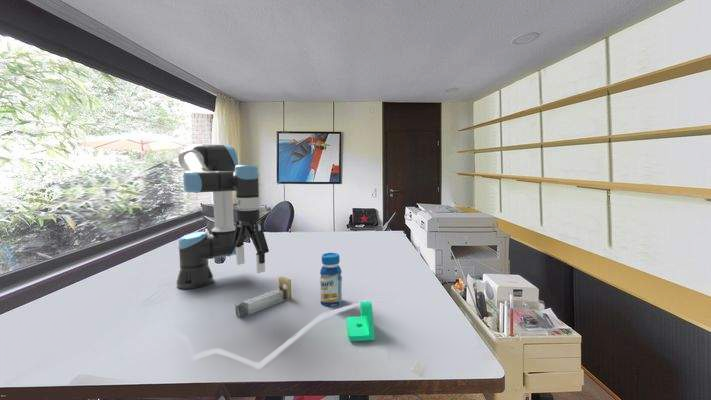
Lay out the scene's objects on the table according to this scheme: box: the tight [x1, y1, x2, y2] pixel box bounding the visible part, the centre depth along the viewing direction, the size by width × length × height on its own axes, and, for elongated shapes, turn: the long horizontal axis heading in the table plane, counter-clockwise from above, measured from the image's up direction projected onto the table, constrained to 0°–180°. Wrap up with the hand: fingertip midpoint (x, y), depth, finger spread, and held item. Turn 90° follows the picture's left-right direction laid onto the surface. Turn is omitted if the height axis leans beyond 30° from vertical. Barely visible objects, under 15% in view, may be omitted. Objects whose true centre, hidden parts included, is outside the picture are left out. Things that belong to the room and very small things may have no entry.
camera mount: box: [346, 300, 375, 342], centre depth 94 cm, size 12×8×10 cm, turn 6°
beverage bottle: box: [319, 252, 343, 310], centre depth 113 cm, size 8×8×20 cm
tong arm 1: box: [235, 288, 279, 317], centre depth 110 cm, size 18×2×4 cm, turn 140°
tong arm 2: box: [237, 290, 284, 319], centre depth 109 cm, size 18×2×4 cm, turn 140°
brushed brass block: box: [277, 276, 293, 302], centre depth 117 cm, size 6×2×8 cm, turn 50°
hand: (250, 267), depth 105 cm, fingers open, 13 cm apart
